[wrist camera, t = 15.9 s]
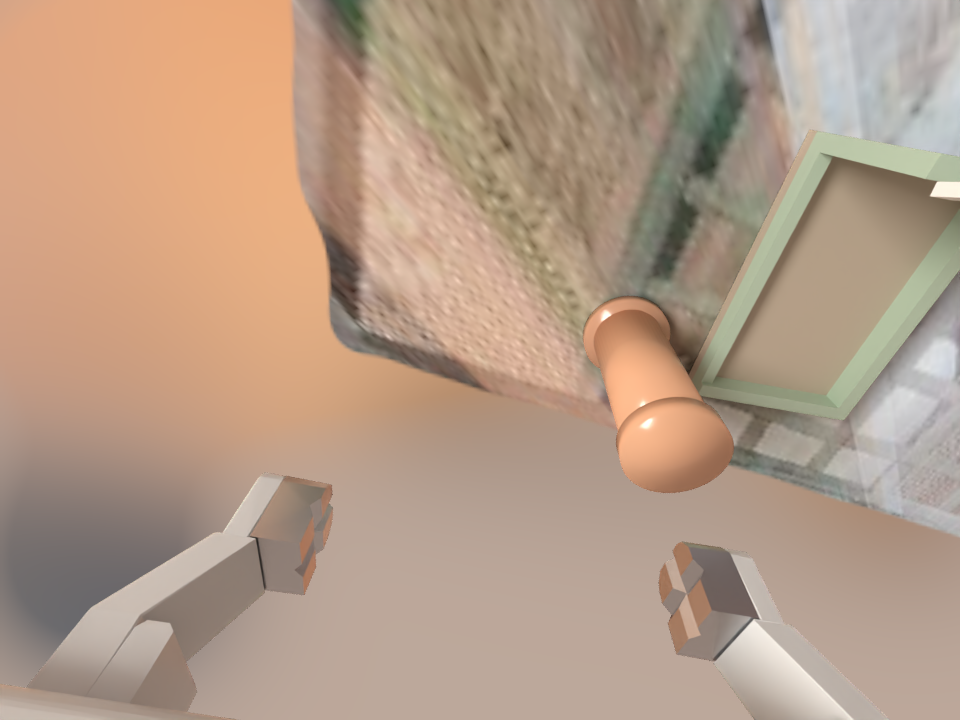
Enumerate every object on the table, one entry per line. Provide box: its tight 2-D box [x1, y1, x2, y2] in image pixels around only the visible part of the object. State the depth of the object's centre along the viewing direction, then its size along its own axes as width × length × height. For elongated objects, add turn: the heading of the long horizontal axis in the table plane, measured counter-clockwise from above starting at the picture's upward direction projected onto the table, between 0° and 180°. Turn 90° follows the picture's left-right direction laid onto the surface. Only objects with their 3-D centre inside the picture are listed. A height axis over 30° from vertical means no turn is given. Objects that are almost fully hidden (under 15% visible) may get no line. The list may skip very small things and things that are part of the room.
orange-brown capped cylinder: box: [594, 310, 734, 493], centre depth 35 cm, size 7×7×15 cm
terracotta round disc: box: [583, 296, 670, 368], centre depth 42 cm, size 8×8×1 cm
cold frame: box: [689, 130, 960, 421], centre depth 34 cm, size 22×14×12 cm, turn 170°
